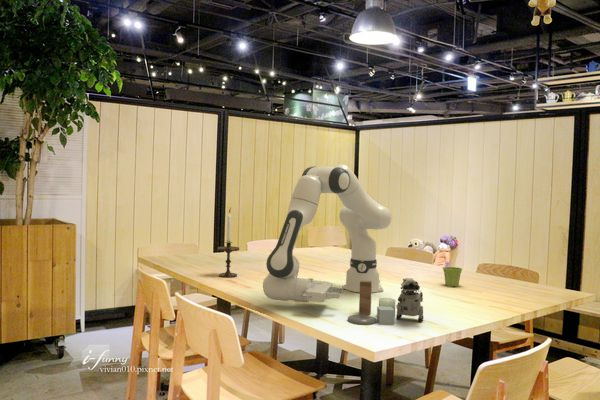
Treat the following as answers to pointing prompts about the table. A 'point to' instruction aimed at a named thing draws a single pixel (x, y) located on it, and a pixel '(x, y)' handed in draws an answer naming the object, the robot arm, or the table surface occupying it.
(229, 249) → the candlestick
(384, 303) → the pale green cylinder
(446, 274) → the plant pot
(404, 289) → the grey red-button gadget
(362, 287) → the walnut block
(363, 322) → the slate coaster
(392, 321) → the bluegrey cube
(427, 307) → the table surface
